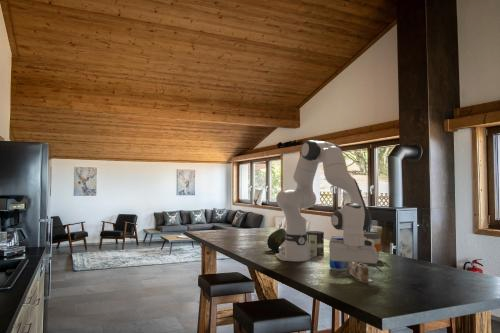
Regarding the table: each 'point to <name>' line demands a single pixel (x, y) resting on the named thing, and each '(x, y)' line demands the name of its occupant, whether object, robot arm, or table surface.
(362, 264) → the gate frame
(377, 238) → the reusable coffee cup
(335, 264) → the beer can
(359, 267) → the gate
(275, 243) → the squash
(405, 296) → the table surface
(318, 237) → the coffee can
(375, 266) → the glasses
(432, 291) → the table surface
